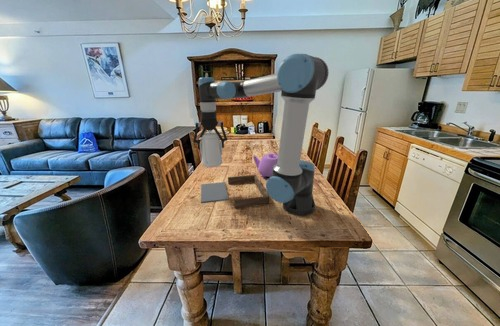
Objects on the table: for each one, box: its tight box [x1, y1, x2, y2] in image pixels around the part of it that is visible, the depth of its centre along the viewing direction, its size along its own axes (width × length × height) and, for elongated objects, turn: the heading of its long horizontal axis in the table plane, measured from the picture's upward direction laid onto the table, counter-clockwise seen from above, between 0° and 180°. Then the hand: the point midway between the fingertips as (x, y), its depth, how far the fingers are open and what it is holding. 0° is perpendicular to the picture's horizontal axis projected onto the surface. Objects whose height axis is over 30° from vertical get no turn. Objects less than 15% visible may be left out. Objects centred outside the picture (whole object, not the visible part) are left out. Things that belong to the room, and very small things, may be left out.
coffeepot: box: [198, 130, 223, 168], centre depth 113 cm, size 11×25×19 cm, turn 168°
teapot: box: [252, 152, 278, 179], centre depth 143 cm, size 20×20×15 cm
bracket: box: [227, 174, 271, 209], centre depth 119 cm, size 30×17×4 cm, turn 12°
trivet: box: [200, 181, 229, 204], centre depth 121 cm, size 22×14×1 cm, turn 12°
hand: (211, 154), depth 114 cm, fingers closed on coffeepot, 10 cm apart
